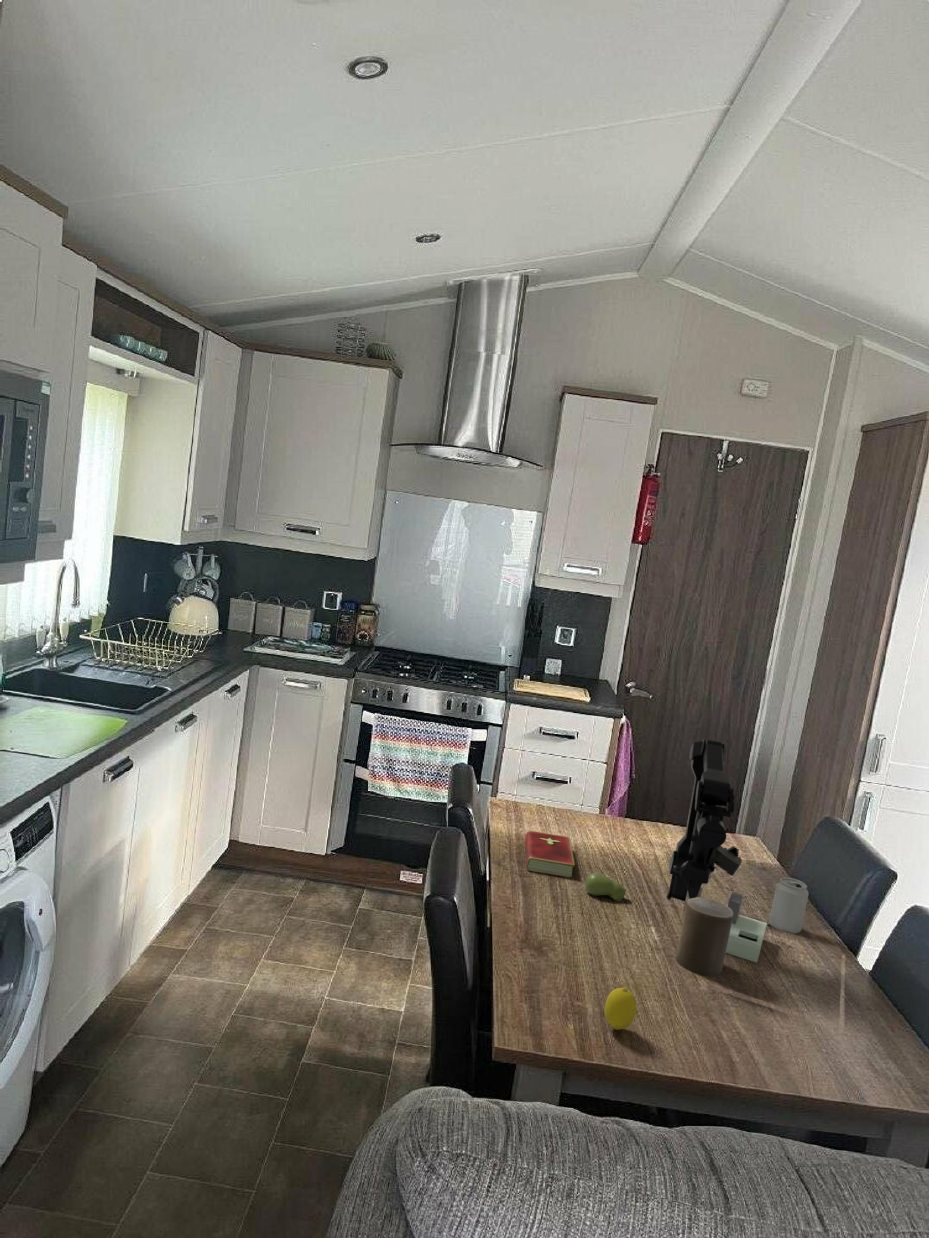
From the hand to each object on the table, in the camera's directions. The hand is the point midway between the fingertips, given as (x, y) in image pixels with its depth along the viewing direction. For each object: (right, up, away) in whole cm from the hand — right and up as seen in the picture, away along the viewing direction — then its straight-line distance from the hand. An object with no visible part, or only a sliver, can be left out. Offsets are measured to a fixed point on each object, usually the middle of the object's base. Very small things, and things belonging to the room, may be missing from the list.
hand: (693, 898), depth 212 cm
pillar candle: (-3, -10, -15) cm, 18 cm away
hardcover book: (-30, -1, +36) cm, 47 cm away
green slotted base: (+10, -7, -2) cm, 12 cm away
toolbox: (+9, -11, -1) cm, 14 cm away
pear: (-18, -5, +17) cm, 25 cm away
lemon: (-25, -10, -45) cm, 52 cm away
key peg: (-1, -5, +1) cm, 6 cm away
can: (+25, -12, +14) cm, 31 cm away
